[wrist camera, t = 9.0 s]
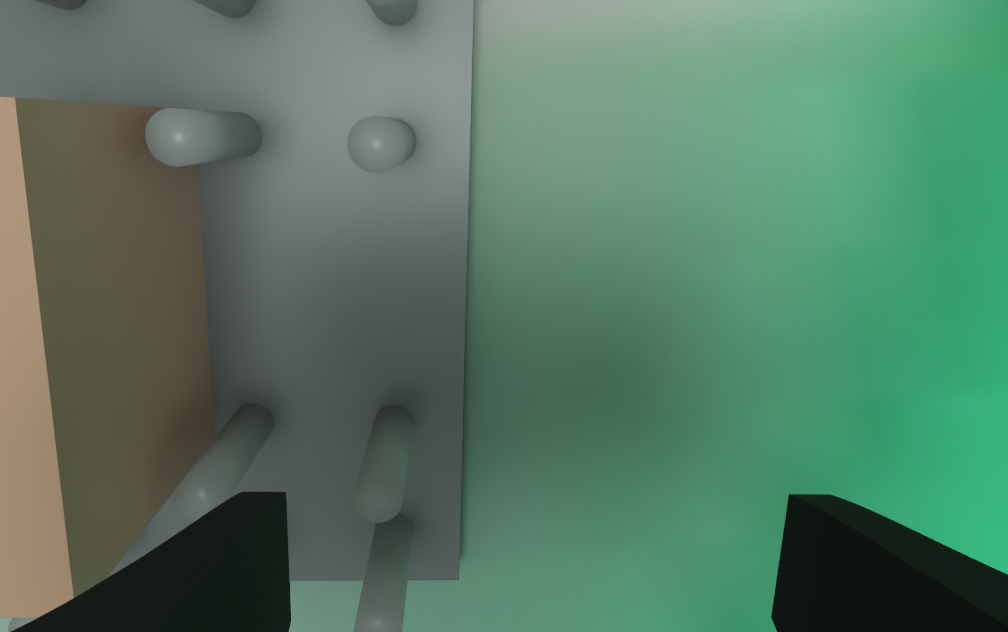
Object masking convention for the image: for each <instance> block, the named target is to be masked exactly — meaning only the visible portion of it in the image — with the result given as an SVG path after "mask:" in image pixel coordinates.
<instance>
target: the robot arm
mask: <svg viewBox="0 0 1008 632" xmlns="http://www.w3.org/2000/svg"><path fill="white" fill-rule="evenodd" d="M771 618H772V620H773V623H774V625H775V627H776V630H777V632H1008V575H1007V574H1005V573H1003V572H1001V571H998V570H996V569H994V568H992V567H990V566H988V565H985V564H983V563H981V562H979V561H977V560H975V559H972V558H970V557H968V556H966V555H964V554H962V553H960V552H958V551H956V550H953V549H951V548H949V547H947V546H945V545H943V544H941V543H939V542H937V541H935V540H932V539H930V538H928V537H926V536H924V535H922V534H920V533H918V532H916V531H914V530H912V529H910V528H907V527H905V526H903V525H901V524H899V523H897V522H895V521H893V520H891V519H888V518H886V517H884V516H882V515H880V514H878V513H875V512H873V511H871V510H869V509H866V508H864V507H862V506H860V505H857V504H855V503H852V502H850V501H847V500H844V499H842V498H839V497H836V496H833V495H806V494H789V498H788V505H787V512H786V519H785V526H784V533H783V540H782V547H781V554H780V560H779V567H778V574H777V581H776V588H775V595H774V602H773V609H772V616H771ZM290 623H291V605H290V579H289V553H288V526H287V500H286V492H240V493H238V494H236V495H234V496H233V497H231V498H229V499H228V500H226V501H225V502H223V503H222V504H220V505H218V506H217V507H215V508H214V509H212V510H211V511H209V512H208V513H207V514H205V515H204V516H202V517H201V518H199V519H198V520H196V521H195V522H193V523H192V524H190V525H189V526H187V527H186V528H184V529H183V530H181V531H180V532H178V533H177V534H175V535H174V536H172V537H171V538H169V539H168V540H166V541H165V542H163V543H162V544H160V545H159V546H157V547H156V548H154V549H153V550H151V551H150V552H148V553H147V554H145V555H144V556H142V557H141V558H139V559H138V560H136V561H134V562H133V563H131V564H129V565H128V566H126V567H124V568H123V569H121V570H119V571H118V572H116V573H115V574H113V575H111V576H110V577H108V578H106V579H105V580H103V581H101V582H100V583H98V584H96V585H95V586H93V587H91V588H90V589H88V590H86V591H85V592H83V593H81V594H80V595H78V596H77V597H75V598H73V599H71V600H70V601H68V602H66V603H64V604H62V605H61V606H59V607H57V608H55V609H53V610H52V611H50V612H48V613H46V614H44V615H42V616H40V617H38V618H37V619H35V620H33V621H31V622H29V623H27V624H25V625H23V626H21V627H19V628H17V629H15V630H13V631H11V632H289V627H290Z"/></svg>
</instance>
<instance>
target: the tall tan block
mask: <svg viewBox="0 0 1008 632" xmlns="http://www.w3.org/2000/svg"><path fill="white" fill-rule="evenodd" d="M163 109H167V108H166V107H151V106H136V105H121V104H106V103H91V102H76V101H61V100H45V99H30V98H15V97H0V618H38V617H40V616H42V615H44V614H46V613H48V612H50V611H52V610H53V609H55V608H57V607H59V606H61V605H62V604H64V603H66V602H68V601H70V600H71V599H73V598H75V597H77V596H78V595H80V594H81V593H83V592H85V591H86V590H88V589H90V588H91V587H93V586H95V585H96V584H98V583H100V582H101V581H103V580H105V579H106V578H107V577H108V576H109V574H110V573H111V572H112V571H113V569H114V568H115V567H116V565H117V564H118V563H119V562H120V560H121V559H122V558H123V556H124V555H125V554H126V553H127V551H128V550H129V549H130V547H131V546H132V545H133V544H134V542H135V541H136V540H137V538H138V537H139V536H140V535H141V533H142V532H143V531H144V529H145V528H146V527H147V526H148V524H149V523H150V522H151V520H152V519H153V518H154V517H155V515H156V514H157V513H158V511H159V510H160V509H161V508H162V506H163V505H164V504H165V502H166V501H167V500H168V499H169V497H170V496H171V495H172V493H173V492H174V491H175V490H176V488H177V486H178V485H179V484H180V483H181V481H182V480H183V479H184V477H185V476H186V475H187V474H188V472H189V471H190V470H191V468H192V467H193V466H194V465H195V463H196V462H197V461H198V459H199V458H200V457H201V456H202V454H203V453H204V452H205V450H206V449H207V448H208V447H209V445H210V444H211V443H212V441H213V440H214V439H215V438H214V422H213V405H212V389H211V373H210V356H209V340H208V324H207V307H206V291H205V275H204V259H203V242H202V226H201V210H200V193H199V177H198V164H194V165H187V166H180V167H175V166H169V165H166V164H164V163H162V162H160V161H159V160H158V159H156V158H155V157H154V156H153V155H152V153H151V152H150V150H149V148H148V146H147V144H146V140H145V129H146V125H147V123H148V121H149V119H150V118H151V117H152V116H153V115H154V114H155V113H156V112H158V111H160V110H163ZM179 109H182V108H179Z"/></svg>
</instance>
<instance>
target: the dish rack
mask: <svg viewBox="0 0 1008 632" xmlns="http://www.w3.org/2000/svg"><path fill="white" fill-rule="evenodd" d="M473 7H474V0H0V97H15V98H30V99H45V100H61V101H76V102H91V103H106V104H121V105H136V106H151V107H166V108H167V109H163V110H160V111H158V112H156V113H155V114H154V115H153V116H152V117H151V118H150V119H149V121H148V123H147V125H146V129H145V140H146V144H147V146H148V148H149V150H150V152H151V153H152V155H153V156H154V157H155V158H156V159H158V160H159V161H160V162H162V163H164V164H166V165H169V166H175V167H180V166H187V165H194V164H198V177H199V193H200V210H201V226H202V242H203V259H204V275H205V291H206V307H207V324H208V340H209V356H210V373H211V389H212V405H213V422H214V438H215V439H214V440H213V441H212V443H211V444H210V445H209V447H208V448H207V449H206V450H205V452H204V453H203V454H202V456H201V457H200V458H199V459H198V461H197V462H196V463H195V465H194V466H193V467H192V468H191V470H190V471H189V472H188V474H187V475H186V476H185V477H184V479H183V480H182V481H181V483H180V484H179V485H178V486H177V488H176V490H175V491H174V492H173V493H172V495H171V496H170V497H169V499H168V500H167V501H166V502H165V504H164V505H163V506H162V508H161V509H160V510H159V511H158V513H157V514H156V515H155V517H154V518H153V519H152V520H151V522H150V523H149V524H148V526H147V527H146V528H145V529H144V531H143V532H142V533H141V535H140V536H139V537H138V538H137V540H136V541H135V542H134V544H133V545H132V546H131V547H130V549H129V550H128V551H127V553H126V554H125V555H124V556H123V558H122V559H121V560H120V562H119V563H118V564H117V565H116V567H115V568H114V569H113V571H112V572H111V573H110V574H109V576H108V577H110V576H111V575H113V574H115V573H116V572H118V571H119V570H121V569H123V568H124V567H126V566H128V565H129V564H131V563H133V562H134V561H136V560H138V559H139V558H141V557H142V556H144V555H145V554H147V553H148V552H150V551H151V550H153V549H154V548H156V547H157V546H159V545H160V544H162V543H163V542H165V541H166V540H168V539H169V538H171V537H172V536H174V535H175V534H177V533H178V532H180V531H181V530H183V529H184V528H186V527H187V526H189V525H190V524H192V523H193V522H195V521H196V520H198V519H199V518H201V517H202V516H204V515H205V514H207V513H208V512H209V511H211V510H212V509H214V508H215V507H217V506H218V505H220V504H222V503H223V502H225V501H226V500H228V499H229V498H231V497H233V496H234V495H236V494H238V493H240V492H286V500H287V526H288V553H289V579H290V580H364V583H363V587H362V592H361V597H360V602H359V607H358V612H357V616H356V621H355V626H354V632H402V624H403V615H404V606H405V597H406V588H407V580H459V559H460V520H461V480H462V441H463V402H464V362H465V323H466V283H467V244H468V204H469V165H470V125H471V86H472V47H473ZM179 108H182V109H179ZM108 577H107V578H108ZM35 619H37V618H13V619H12V620H11V621H10V624H9V629H8V630H9V632H11V631H13V630H15V629H17V628H19V627H21V626H23V625H25V624H27V623H29V622H31V621H33V620H35Z"/></svg>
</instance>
